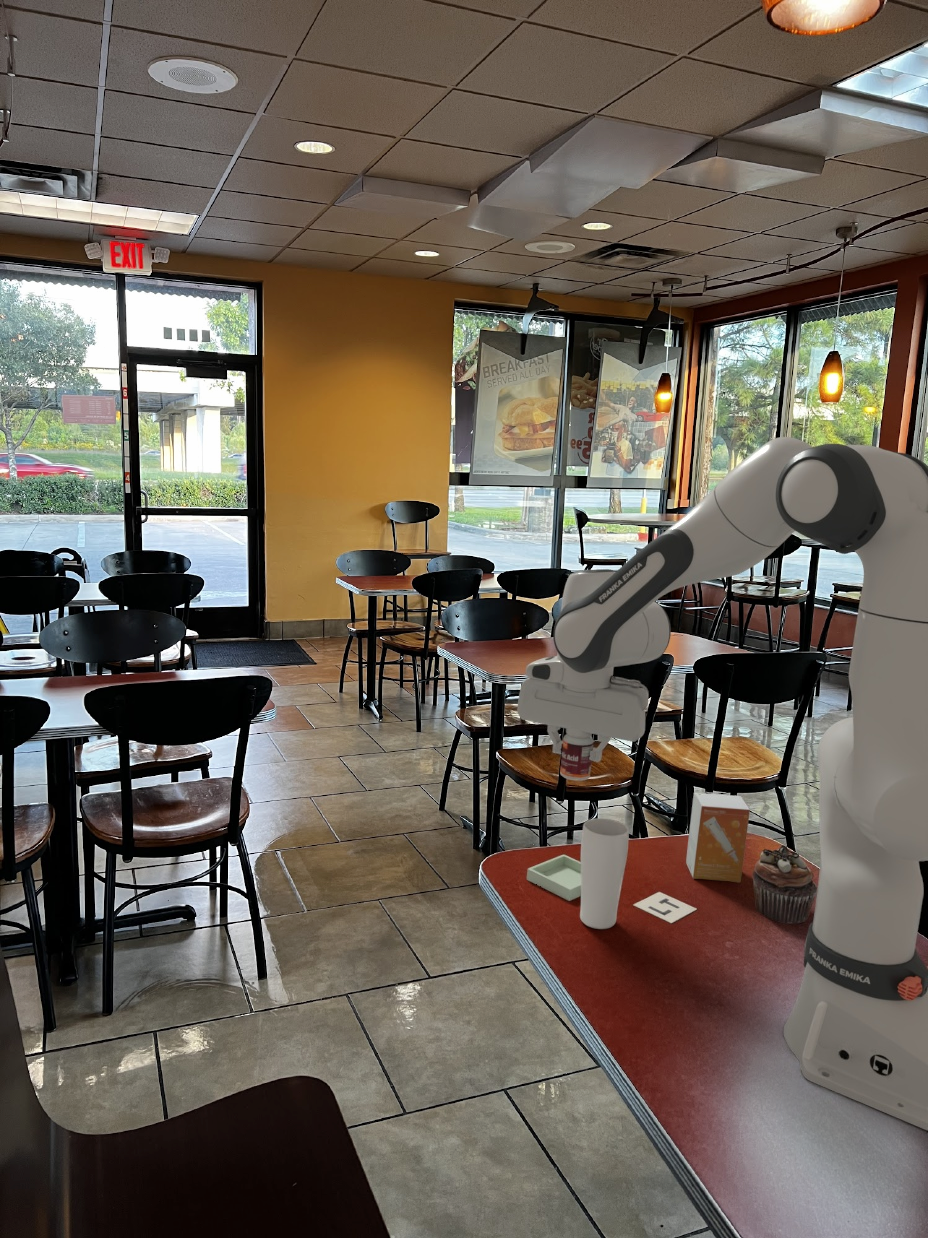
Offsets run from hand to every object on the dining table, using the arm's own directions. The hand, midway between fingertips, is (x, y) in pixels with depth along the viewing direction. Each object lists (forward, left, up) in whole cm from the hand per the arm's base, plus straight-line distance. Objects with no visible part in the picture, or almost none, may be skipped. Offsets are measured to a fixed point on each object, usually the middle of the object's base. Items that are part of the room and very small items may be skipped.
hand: (576, 756), depth 145 cm
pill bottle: (0, 0, -3) cm, 3 cm away
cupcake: (-27, -20, -22) cm, 40 cm away
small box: (-13, -23, -22) cm, 34 cm away
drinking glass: (-11, +6, -22) cm, 25 cm away
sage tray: (0, 0, -21) cm, 21 cm away
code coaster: (-15, -6, -21) cm, 27 cm away
